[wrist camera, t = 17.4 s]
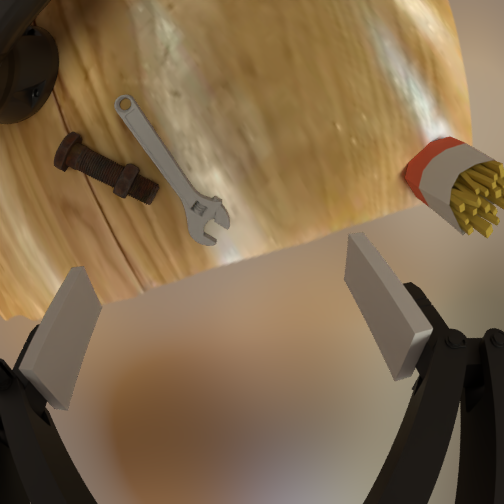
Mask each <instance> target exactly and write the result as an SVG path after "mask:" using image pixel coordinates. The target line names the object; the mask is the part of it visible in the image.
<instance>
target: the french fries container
mask: <svg viewBox="0 0 504 504" xmlns="http://www.w3.org/2000/svg"><path fill="white" fill-rule="evenodd" d="M405 179H406V181H407V183H408V184H409V186H410V188H411V189H412V191H413V193H414V194H415V196H416V197H417V198H418V199H420V200H421V201H422V202H423V203H425V204H426V205H427V206H428V207H430V208H431V209H432V210H433V211H435V212H436V213H437V214H439V215H440V216H441V217H442V218H443V219H445V220H446V221H447V222H448V223H449V224H450V225H452V226H453V227H454V228H455V229H457V230H458V231H459V232H460V233H461V234H462V235H464V234H465V233H467V234H468V235H470V234H471V233H472V232H473V228H474V229H476V230H477V231H478V232H480V233H481V234H482V235H483V236H485V237H486V238H488V237H489V236H490V235H491V233H492V232H493V229H492V225H491V223H493V224H495V225H498V223H499V222H500V220H499V218H498V217H496V214H497V209H496V207H495V206H494V205H493V204H496V205H498V206H499V207H501V208H502V209H504V169H503V164H502V163H500V162H497V161H495V160H494V159H492V158H491V157H489V156H487V155H486V154H484V153H482V152H480V151H479V150H477V149H475V148H474V147H472V146H470V145H468V144H466V143H464V142H462V141H460V140H457V139H455V138H452V137H446V138H443V139H440V140H436V141H433V142H430V143H429V144H428V145H427V146H426V147H425V148H424V149H423V150H422V151H421V152H420V153H418V154H417V155H416V156H415V157H414V158H413V159H412V160H411V161H410V162H409V163H408V167H407V171H406V175H405ZM481 217H483V218H484V219H486V220H488V221H490V222H491V223H489V222H487V221H486V220H484V219H483V218H481Z"/></svg>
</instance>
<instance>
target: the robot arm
mask: <svg viewBox="0 0 504 504" xmlns="http://www.w3.org/2000/svg"><path fill="white" fill-rule="evenodd" d="M50 1H51V0H0V124H12V123H16V122H19V121H22V120H25V119H27V118H29V117H30V116H32V115H33V114H35V113H36V112H37V111H38V110H39V109H40V108H41V107H42V106H43V104H44V103H45V102H46V100H47V98H48V97H49V95H50V93H51V91H52V89H53V86H54V84H55V81H56V77H57V72H58V63H59V58H58V50H57V46H56V43H55V41H54V39H53V37H52V36H51V35H50V34H49V32H47V31H46V30H45V29H43V28H41V27H37V26H30V24H31V23H32V22H33V21H34V19H35V18H36V17H37V16H38V14H39V13H40V12H41V11H42V10H43V9H44V7H45V6H46V5H47V4H48V3H49V2H50ZM344 280H345V282H346V284H347V286H348V288H349V290H350V292H351V294H352V295H353V297H354V299H355V301H356V303H357V305H358V307H359V309H360V311H361V313H362V315H363V317H364V318H365V320H366V323H367V325H368V327H369V328H370V331H371V333H372V335H373V337H374V339H375V341H376V343H377V345H378V347H379V349H380V351H381V353H382V355H383V357H384V359H385V362H386V363H387V366H388V368H389V370H390V372H391V374H392V377H393V379H394V381H397V380H401V379H404V378H407V377H410V376H411V375H412V374H413V371H414V370H415V368H416V369H417V370H418V372H419V374H420V375H419V377H418V379H417V380H416V382H415V384H414V386H413V388H412V390H413V393H412V396H411V399H410V402H409V405H408V408H407V411H406V413H405V416H404V418H403V421H402V424H401V426H400V429H399V431H398V433H397V436H396V438H395V440H394V443H393V445H392V447H391V450H390V452H389V454H388V456H387V459H386V460H385V463H384V465H383V467H382V469H381V471H380V473H379V475H378V477H377V479H376V481H375V483H374V485H373V487H372V488H371V490H370V492H369V494H368V496H367V498H366V499H365V501H364V503H363V504H427V503H428V501H429V498H430V496H431V494H432V491H433V489H434V486H435V484H436V481H437V478H438V476H439V473H440V470H441V467H442V464H443V461H444V458H445V455H446V452H447V449H448V445H449V442H450V439H451V435H452V431H453V428H454V424H455V420H456V415H457V411H458V407H459V403H461V406H460V407H461V408H460V409H461V435H460V459H459V473H458V482H457V491H456V499H455V504H504V332H503V331H501V330H499V329H496V328H492V329H489V330H487V331H486V333H485V335H484V337H483V338H466V336H465V335H464V334H463V333H462V332H460V331H458V330H456V329H449V328H448V326H447V325H446V323H445V322H444V320H443V319H442V317H441V316H440V315H439V313H438V312H437V310H436V309H435V308H434V306H433V305H431V302H430V301H429V299H427V297H426V296H425V294H424V293H423V291H422V290H421V289H420V288H419V287H417V286H416V285H414V284H413V283H412V282H409V283H404V284H402V282H401V281H400V280H399V278H398V277H397V276H396V274H395V273H394V272H393V270H392V269H391V268H390V266H389V265H388V264H387V262H386V261H385V260H384V258H383V257H382V256H381V254H380V253H379V252H378V250H377V249H376V248H375V247H374V245H373V244H372V243H371V242H370V240H369V239H368V238H367V236H366V235H365V234H364V233H363V232H359V233H351V234H349V235H348V247H347V258H346V269H345V277H344ZM101 309H102V306H101V304H100V302H99V300H98V298H97V295H96V293H95V291H94V289H93V286H92V284H91V282H90V280H89V277H88V275H87V273H86V270H85V268H84V266H81V267H73V268H71V270H70V272H69V273H68V275H67V277H66V278H65V280H64V282H63V283H62V285H61V287H60V288H59V290H58V292H57V294H56V295H55V297H54V299H53V301H52V302H51V304H50V306H49V308H48V310H47V312H46V313H45V315H44V317H43V319H42V321H41V323H40V324H39V325H37V326H36V327H35V328H34V329H33V330H32V331H31V333H30V334H29V336H28V338H27V340H26V341H27V342H25V344H24V347H23V349H22V351H21V353H20V355H19V357H18V359H17V361H16V363H15V366H14V368H13V370H11V368H10V367H9V366H8V365H7V363H6V362H5V361H4V360H3V359H0V504H30V502H31V504H97V502H96V501H95V499H94V497H93V496H92V494H91V493H90V491H89V490H88V488H87V486H86V485H85V483H84V481H83V480H82V478H81V476H80V474H79V473H78V471H77V469H76V467H75V465H74V464H73V462H72V460H71V458H70V456H69V454H68V452H67V450H66V448H65V446H64V444H63V442H62V440H61V438H60V436H59V433H58V431H57V429H56V427H55V425H54V422H53V420H52V418H51V415H50V413H49V411H48V410H47V409H46V407H45V406H46V403H47V402H48V403H49V404H50V405H51V406H52V407H53V408H54V409H61V410H68V408H69V404H70V400H71V397H72V394H73V390H74V387H75V383H76V380H77V377H78V374H79V371H80V368H81V364H82V361H83V358H84V355H85V353H86V350H87V347H88V344H89V341H90V338H91V335H92V333H93V330H94V327H95V324H96V322H97V319H98V317H99V314H100V312H101Z"/></svg>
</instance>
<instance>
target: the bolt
mask: <svg viewBox="0 0 504 504" xmlns="http://www.w3.org/2000/svg"><path fill="white" fill-rule="evenodd" d="M81 141H82V139H81V137H80V135H79V134H77V133H75V132H71V133H70V134H68V135H67V136H66V137H65V138H64V139H63V141H62V142H61V144H60V146H59V148H58V150H57V152H56V154H55V158H54V166H55V167H57V168H58V169H60V170H62V171H64V172H65V171H66V170H67V169H68V167H71V168H73V169H75V170H79V171H81V172H83V173H85V174H87V175H89V176H91V177H93V178H95V179H97V180H99V181H101V182H103V183H105V184H108V185H110V186H112V187H114V190H113V193H114V194H116V195H118V196H120V197H121V198H126V196H127V195H128V194H129V196H130V195H131V197H133V198H135V199H137V200H139V201H142V202H144V203H146V204H148V205H150V204H151V203H152V201H153V199H154V197H155V195H156V193H157V191H158V189H159V186H158V184H157V185H156V183H154V182H152V181H150V180H148V179H145V178H143V177H141V176H139V174H138V173H139V169H138V168H137V167H136V166H134V165H132V164H127V165H126V166H125V168H124V167H122V166H120V165H118V164H116V162H115V163H114V161H113V162H112V161H110V160H109V159H108V158H106V157H104V156H102V155H100V154H98V153H96V152H94V151H92V150H90V149H88V148H87V147H86V146H84V145H82V144H81Z"/></svg>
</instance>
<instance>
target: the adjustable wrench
mask: <svg viewBox="0 0 504 504" xmlns="http://www.w3.org/2000/svg"><path fill="white" fill-rule="evenodd" d="M124 98H128V99H129V100H130V101H131V106H130V108H129V109H128V110H122V109H121V108H120V105H119V104H120V101H121V100H122V99H124ZM115 109H116V111H117V113H118V114H119V115H120V117H121V118H122V120H123V121H124V122H125V124H126V125H127V127H128V128H129V129H130V131H131V132H132V133H133V135H134V136H135V138H136V139H137V140H138V142H139V143H140V144H141V146H142V147H143V149H144V150H145V151H146V153H147V154H148V155H149V157H150V158H151V159H152V161H153V162H154V164H155V165H156V166H157V168H158V169H159V170H160V172H161V173H162V174H163V176H164V177H165V178H166V180H167V181H168V182H169V184H170V185H171V186H172V188H173V189H174V190H175V192H176V193H177V195H178V196H179V197H180V199H181V201H182V203H183V205H184V208H185V212H186V216H187V222H188V230H189V233H190V235H191V237H192V238H193V239H194V240H195V241H196V242H198V243H200V244H202V245H206V246H213V245H215V244H216V242H217V239H215V238H213V237H212V236H210V235H208V234H207V233H205V232H204V226H205V224H206V223H207V222H208V220H211V219H215V222H216V223H218V224H219V225H221V226H223V227H224V228H226V229H227V230H228V229H229V227H230V222H229V215H228V212H227V210H226V209H225V207H224V206H223V204H222V199H219V198H218V197H216V196H214V198H210V197H207V196H204V195H202V194H200V193H199V192H198V191H197V190H196V189H195V188H194V187H193V186H192V184H191V183H190V181H189V180H188V178H187V177H186V176H185V174H184V173H183V171H182V170H181V168H180V167H179V165H178V164H177V162H176V161H175V159H174V158H173V156H172V155H171V153H170V152H169V150H168V149H167V147H166V146H165V144H164V143H163V141H162V140H161V138H160V137H159V135H158V134H157V132H156V131H155V129H154V128H153V126H152V125H151V123H150V122H149V120H148V119H147V117H146V116H145V114H144V113H143V111H142V110H141V108H140V107H139V105H138V104H137V102H136V101H135V99H134V98H133V97H132V96H130V95H122V96H120V97H118V98H117V99H116V101H115ZM196 200H197V202H196ZM195 202H196V203H195ZM194 203H195V205H193V204H194ZM192 206H193V207H194V208H193V207H192Z"/></svg>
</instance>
